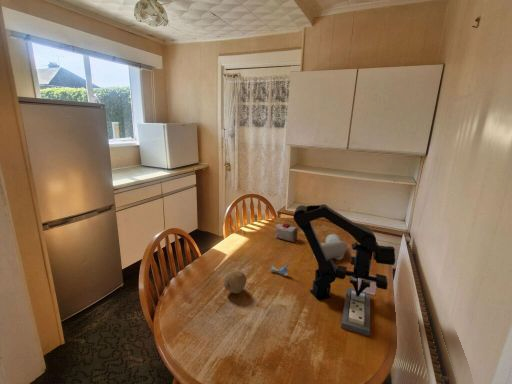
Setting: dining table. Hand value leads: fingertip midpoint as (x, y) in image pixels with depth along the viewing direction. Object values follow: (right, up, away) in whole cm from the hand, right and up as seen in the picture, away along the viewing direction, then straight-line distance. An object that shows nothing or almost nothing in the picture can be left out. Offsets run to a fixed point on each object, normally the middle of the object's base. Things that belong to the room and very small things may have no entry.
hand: (357, 295), depth 102 cm
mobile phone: (+9, 0, +13) cm, 16 cm away
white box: (-22, +12, +56) cm, 61 cm away
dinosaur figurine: (-29, +3, +18) cm, 34 cm away
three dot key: (-3, -4, -5) cm, 7 cm away
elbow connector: (-2, +7, +37) cm, 38 cm away
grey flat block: (-3, -4, -5) cm, 7 cm away
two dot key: (-5, -4, -11) cm, 13 cm away
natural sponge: (-49, -1, +4) cm, 49 cm away
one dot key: (0, -2, +1) cm, 2 cm away
